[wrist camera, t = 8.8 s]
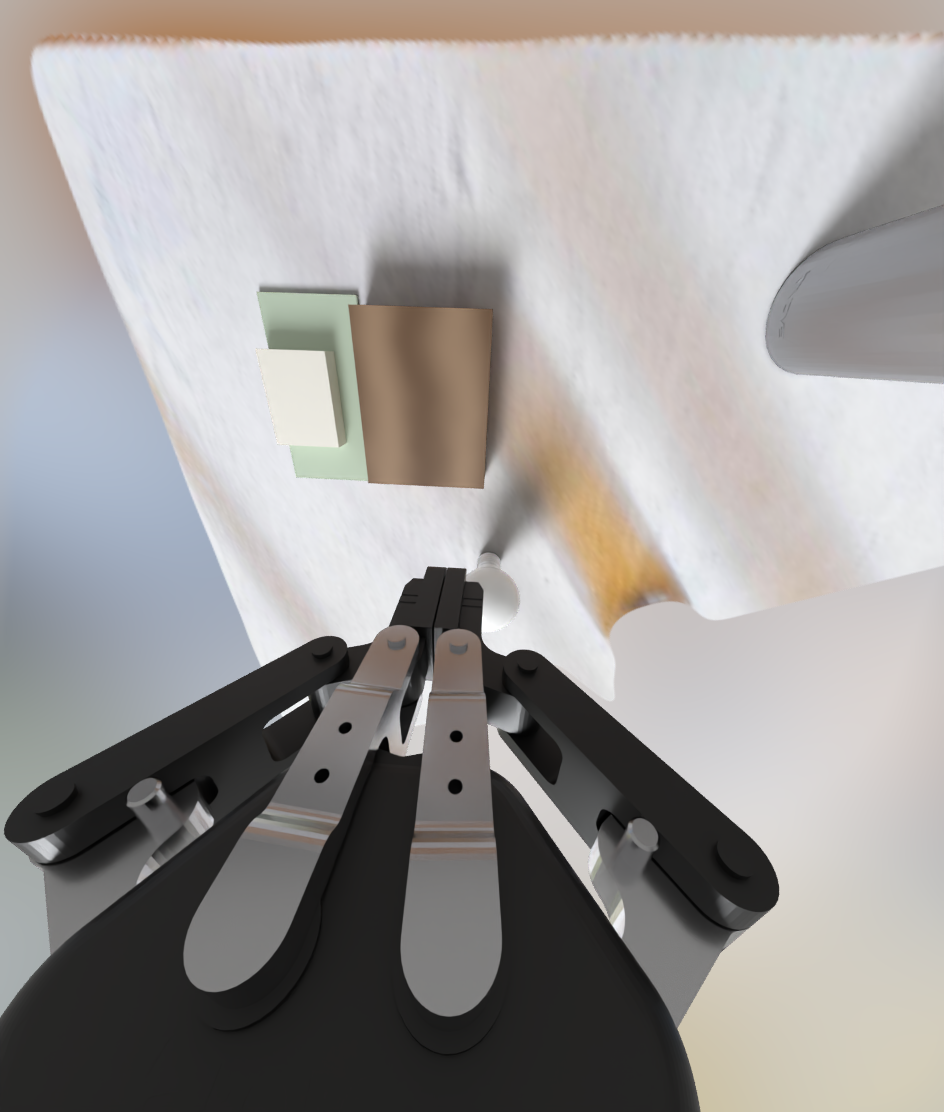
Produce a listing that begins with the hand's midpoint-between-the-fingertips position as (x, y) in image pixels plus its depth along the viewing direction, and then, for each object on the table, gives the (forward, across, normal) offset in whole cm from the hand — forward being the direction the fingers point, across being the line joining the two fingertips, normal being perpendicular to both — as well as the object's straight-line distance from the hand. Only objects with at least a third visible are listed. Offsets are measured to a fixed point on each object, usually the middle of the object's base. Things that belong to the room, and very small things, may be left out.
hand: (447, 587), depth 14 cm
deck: (+25, +5, -4) cm, 26 cm away
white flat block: (+22, +16, -4) cm, 28 cm away
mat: (+25, +15, -4) cm, 29 cm away
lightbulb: (+25, -2, +13) cm, 28 cm away
